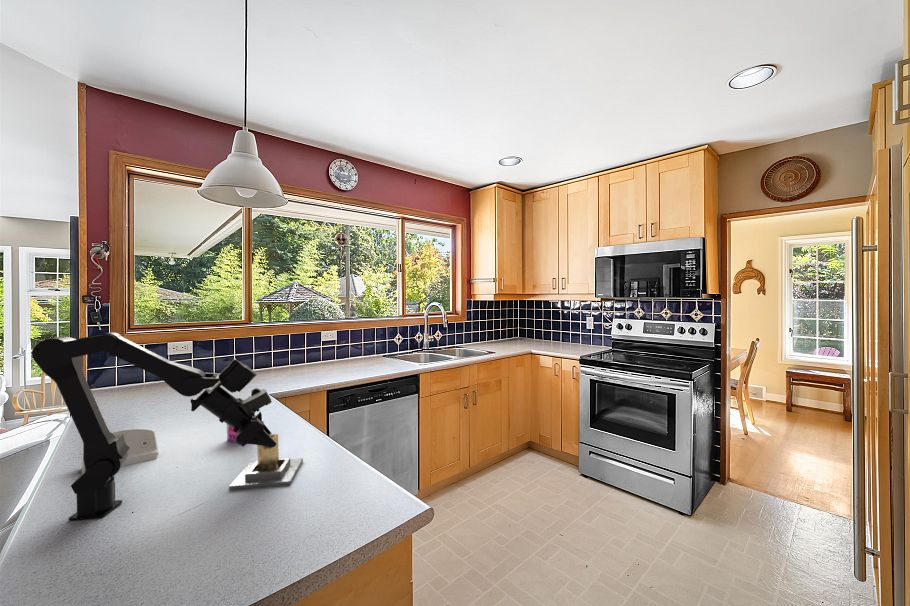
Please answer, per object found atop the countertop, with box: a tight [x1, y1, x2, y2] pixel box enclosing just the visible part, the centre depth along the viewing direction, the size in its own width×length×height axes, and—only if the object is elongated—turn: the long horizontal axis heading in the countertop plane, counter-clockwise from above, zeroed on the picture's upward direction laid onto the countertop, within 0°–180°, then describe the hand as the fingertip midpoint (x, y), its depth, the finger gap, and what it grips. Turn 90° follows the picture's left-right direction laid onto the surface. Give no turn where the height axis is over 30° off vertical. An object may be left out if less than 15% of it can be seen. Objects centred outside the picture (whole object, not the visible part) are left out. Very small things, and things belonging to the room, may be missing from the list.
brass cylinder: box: [256, 433, 280, 472], centre depth 101 cm, size 5×5×9 cm
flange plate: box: [228, 457, 304, 491], centre depth 101 cm, size 14×14×2 cm
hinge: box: [81, 428, 159, 474], centre depth 111 cm, size 17×5×10 cm, turn 127°
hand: (274, 441), depth 102 cm, fingers open, 6 cm apart
